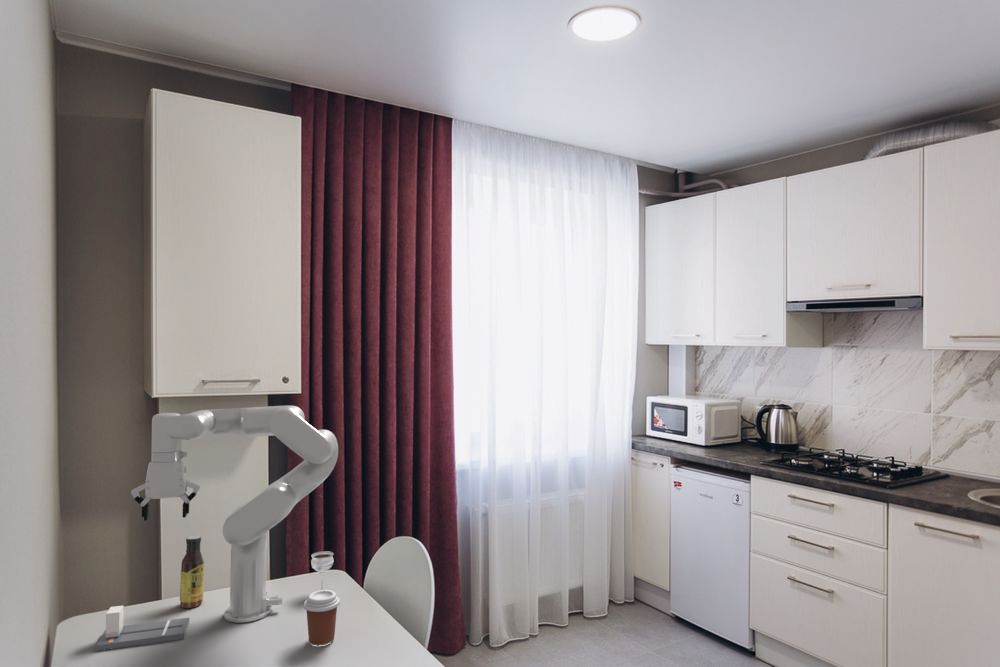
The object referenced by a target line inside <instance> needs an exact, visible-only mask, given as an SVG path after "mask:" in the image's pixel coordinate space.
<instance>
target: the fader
mask: <svg viewBox="0 0 1000 667" xmlns="http://www.w3.org/2000/svg"><path fill="white" fill-rule="evenodd" d="M124 611H125V610H124V605H116V606H110V607H109V609H108V610H107V612H106V613H105V630H106V634H105V638H109V637H116V636H119V635H120V633H121V631H122V630H123V628H124V626H125V625H124Z"/></svg>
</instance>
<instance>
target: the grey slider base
mask: <svg viewBox="0 0 1000 667" xmlns="http://www.w3.org/2000/svg"><path fill="white" fill-rule="evenodd" d="M190 620H191V618H190V617H183V618H175V619H168V620H167V619H165V620H159V621H151V622H150V621H149V622H144V623H137V624H136V623H135V624H128V625H124V628H123V630H122V631H121V633H120V635H119V636H116V637H109V638H105V634H106V629H105V630H104V631H103V633H102V635H101V636H100V638H99V640H98V641H97V643H96V644H95V652H98V651H97V650H102V651H105V650H104V649H109V650H112V649H111V648H116V649H121V648H120V647H123V648H128V646H130V647H137V645H138V646H143V645H151V644H157V643H165V642H171V641H180V640H179V639H181V640H185V638H184V637H186V635H185V634H187V632H186V631H188V629H187V628H189V626H188V625H190V623H191V622H190ZM189 622H190V623H189ZM118 647H119V648H118Z"/></svg>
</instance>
